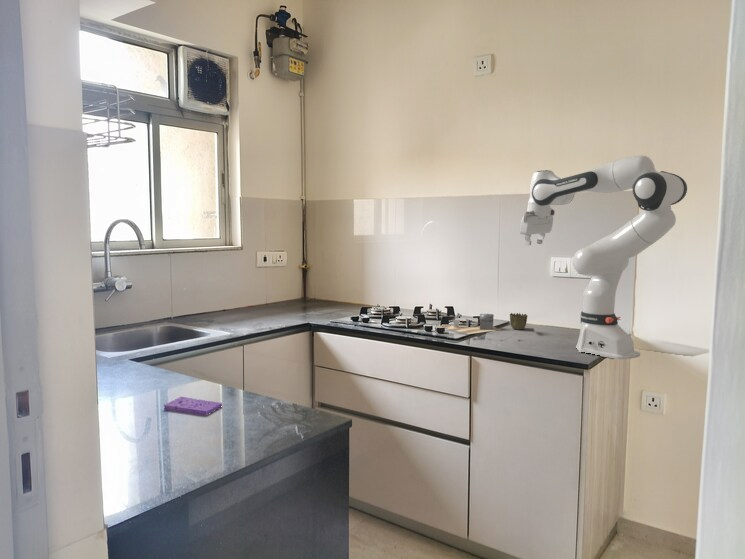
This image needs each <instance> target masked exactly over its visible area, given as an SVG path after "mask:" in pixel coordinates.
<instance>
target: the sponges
mask: <svg viewBox="0 0 745 559" xmlns="http://www.w3.org/2000/svg"><path fill="white" fill-rule="evenodd" d="M221 406H222V407H223V403H222V402H219V401H212V400H204V399H197V398H193V397H186V396H179V397H177V398H175V399H173V400H171V401H170V402H167V403H166V404H165V403H164V404H163V409H164V411H171V412H176V413H177V412H178V413H185V414H190V415H191V414H192V415H198V414H199V415H198V416H204V415H206V416H208V415H207V414H209V413H211V412H213V411H214V410H216V409H218V408H219V407H221ZM218 410H219V409H218ZM216 411H217V410H216ZM213 413H214V412H213ZM211 414H212V413H211ZM209 415H210V414H209Z"/></svg>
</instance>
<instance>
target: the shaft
mask: <svg viewBox="0 0 745 559" xmlns="http://www.w3.org/2000/svg"><path fill="white" fill-rule="evenodd" d="M459 323H461V322H460V319H453V324H454V327H456V328H459Z"/></svg>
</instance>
